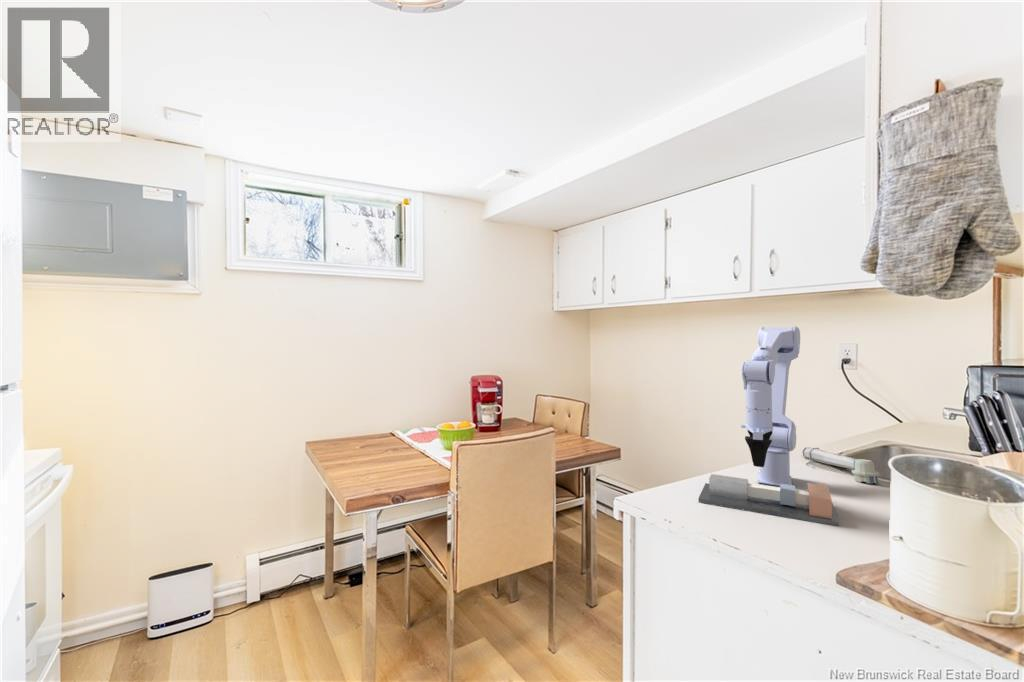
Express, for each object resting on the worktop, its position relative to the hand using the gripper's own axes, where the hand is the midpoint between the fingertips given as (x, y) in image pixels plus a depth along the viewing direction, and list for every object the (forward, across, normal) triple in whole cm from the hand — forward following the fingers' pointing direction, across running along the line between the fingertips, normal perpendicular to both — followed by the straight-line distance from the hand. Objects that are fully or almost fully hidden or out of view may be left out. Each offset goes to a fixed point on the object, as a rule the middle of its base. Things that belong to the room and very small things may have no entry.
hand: (759, 462), depth 109 cm
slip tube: (+8, +3, +4) cm, 9 cm away
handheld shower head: (+10, -35, +19) cm, 41 cm away
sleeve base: (+9, +3, +1) cm, 10 cm away
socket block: (+8, +3, +12) cm, 15 cm away
